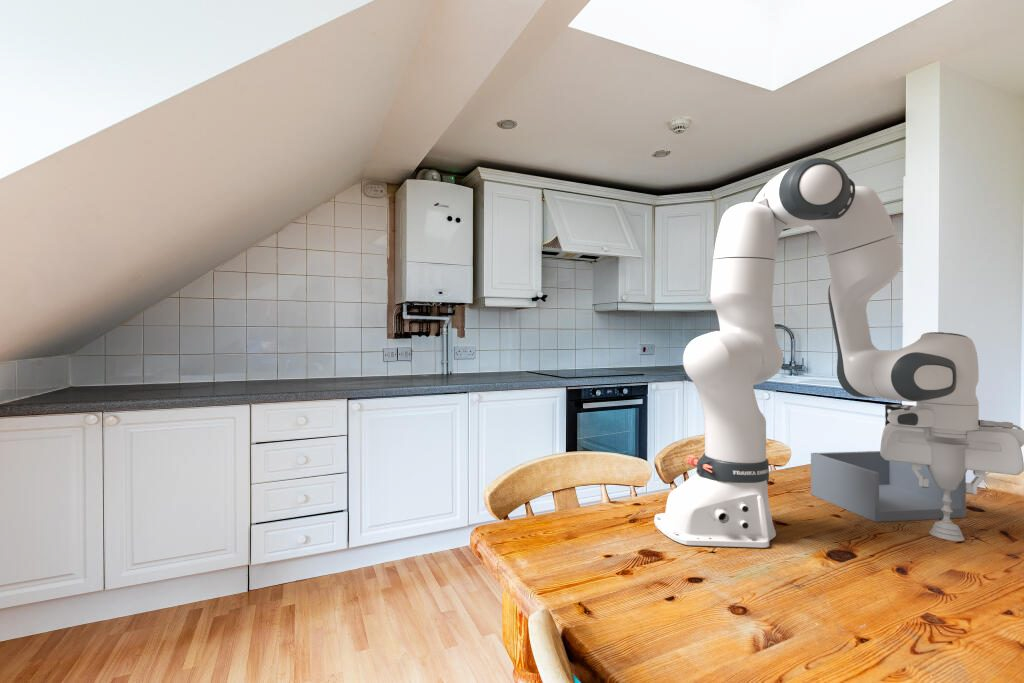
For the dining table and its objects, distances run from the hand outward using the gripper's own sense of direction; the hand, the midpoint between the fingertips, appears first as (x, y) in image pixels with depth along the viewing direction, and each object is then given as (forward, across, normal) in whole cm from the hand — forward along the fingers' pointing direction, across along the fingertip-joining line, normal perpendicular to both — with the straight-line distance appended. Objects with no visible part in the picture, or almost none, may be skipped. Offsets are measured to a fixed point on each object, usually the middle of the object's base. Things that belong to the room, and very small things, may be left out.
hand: (946, 490), depth 92 cm
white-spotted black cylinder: (+9, +4, -40) cm, 41 cm away
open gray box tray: (+9, +10, -14) cm, 19 cm away
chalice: (+9, 0, 0) cm, 9 cm away
